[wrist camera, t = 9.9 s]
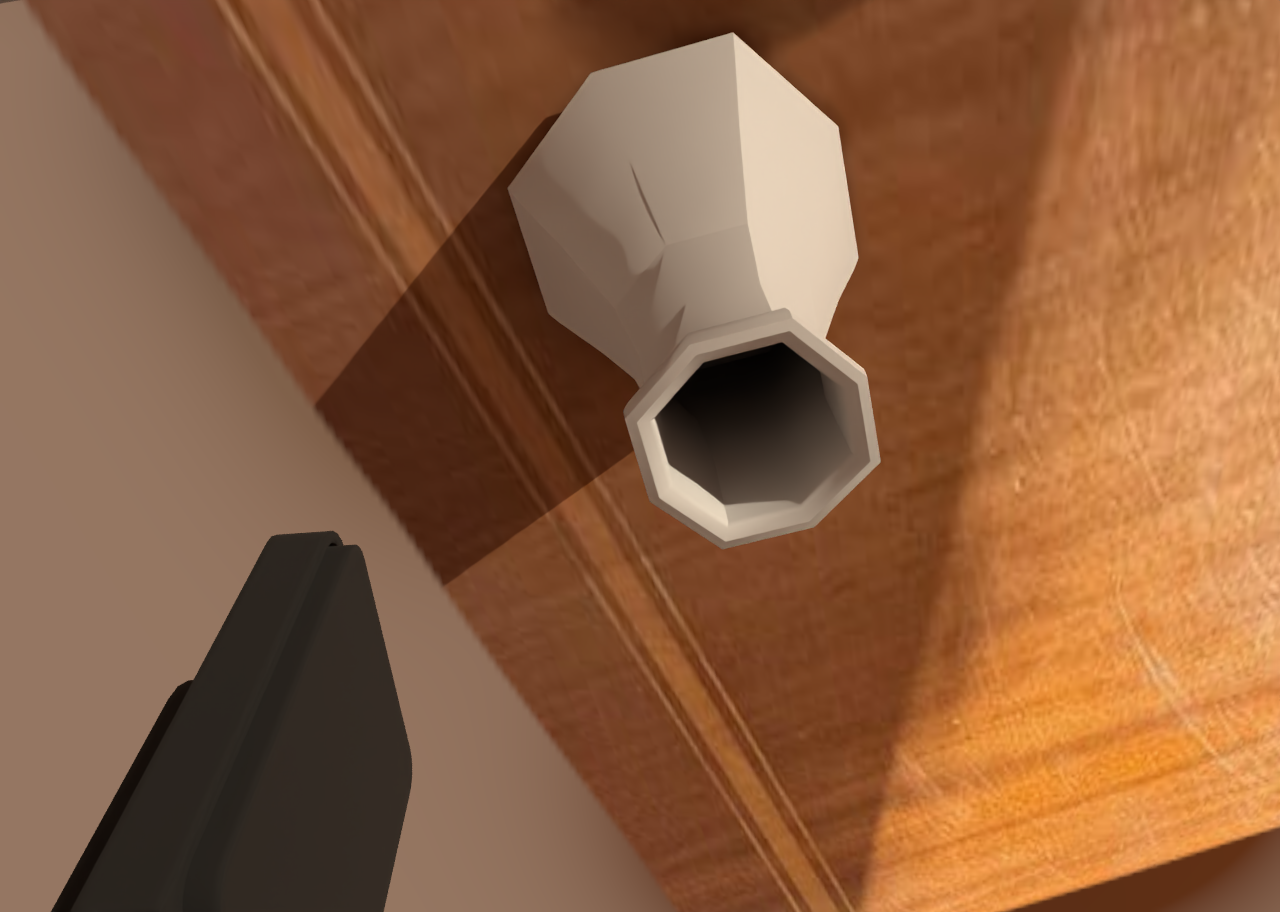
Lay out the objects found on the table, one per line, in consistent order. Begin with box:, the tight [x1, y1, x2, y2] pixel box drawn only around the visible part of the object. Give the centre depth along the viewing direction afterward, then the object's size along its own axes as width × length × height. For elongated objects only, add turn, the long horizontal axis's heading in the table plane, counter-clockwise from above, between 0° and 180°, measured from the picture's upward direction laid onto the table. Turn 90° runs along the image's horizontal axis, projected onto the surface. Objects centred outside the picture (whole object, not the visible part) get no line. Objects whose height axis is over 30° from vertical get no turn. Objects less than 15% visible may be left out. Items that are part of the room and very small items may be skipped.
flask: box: [508, 33, 881, 549], centre depth 17 cm, size 7×7×10 cm
